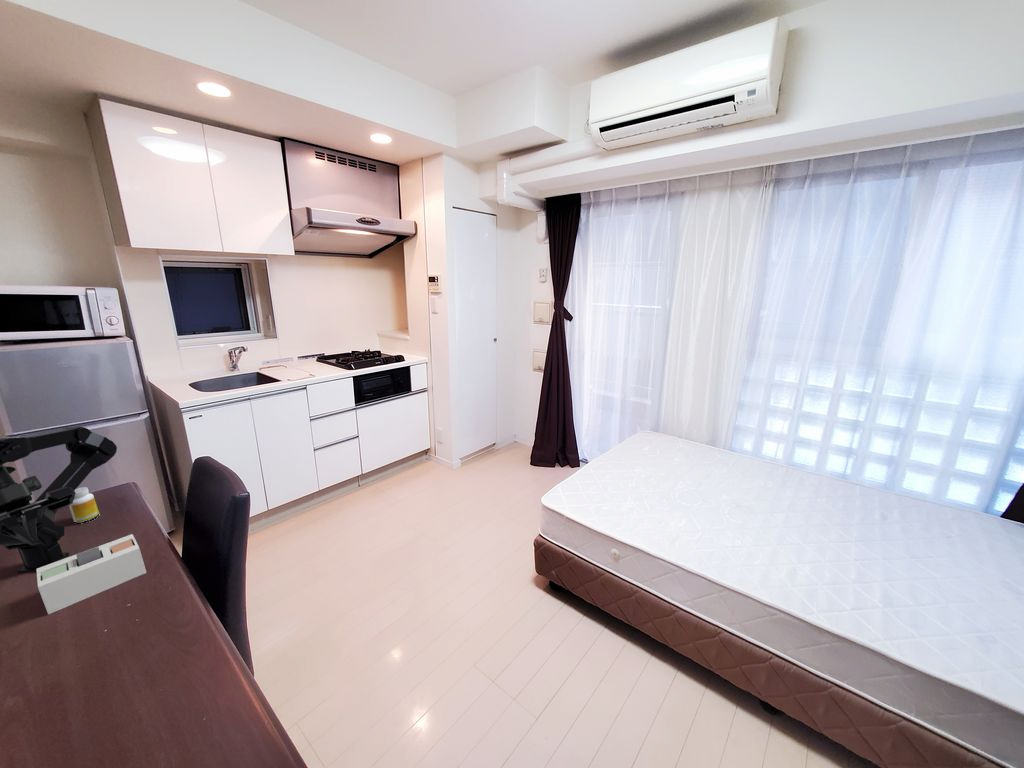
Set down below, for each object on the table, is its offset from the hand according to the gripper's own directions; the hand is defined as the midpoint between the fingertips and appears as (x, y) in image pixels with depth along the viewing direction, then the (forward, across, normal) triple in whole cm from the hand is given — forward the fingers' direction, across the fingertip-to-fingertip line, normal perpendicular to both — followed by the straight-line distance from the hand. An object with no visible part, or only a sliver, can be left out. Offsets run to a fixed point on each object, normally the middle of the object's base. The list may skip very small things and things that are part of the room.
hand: (35, 543), depth 88 cm
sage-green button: (+10, 0, +2) cm, 10 cm away
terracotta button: (+12, +11, 0) cm, 16 cm away
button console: (+14, +5, +4) cm, 15 cm away
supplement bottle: (-14, +18, +32) cm, 39 cm away
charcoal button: (+10, +5, 0) cm, 11 cm away
